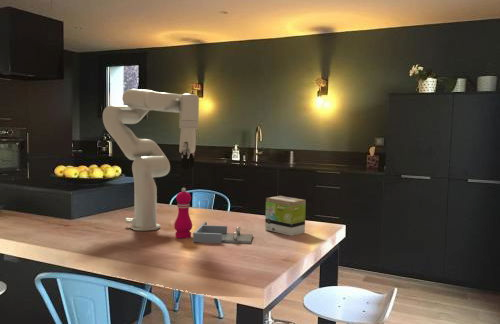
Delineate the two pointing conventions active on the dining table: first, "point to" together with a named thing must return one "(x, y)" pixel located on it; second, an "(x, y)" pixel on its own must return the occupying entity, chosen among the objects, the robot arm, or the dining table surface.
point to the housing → (209, 233)
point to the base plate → (237, 237)
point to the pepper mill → (183, 215)
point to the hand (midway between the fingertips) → (187, 167)
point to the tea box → (285, 215)
